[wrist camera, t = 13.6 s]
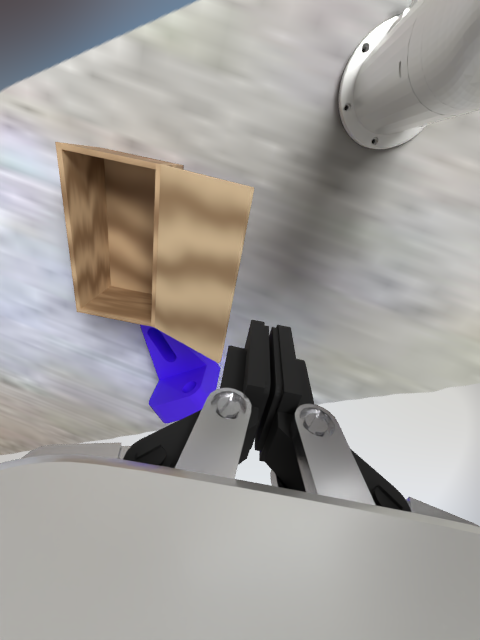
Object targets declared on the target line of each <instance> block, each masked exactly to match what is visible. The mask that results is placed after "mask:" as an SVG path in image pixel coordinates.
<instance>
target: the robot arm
mask: <svg viewBox="0 0 480 640" xmlns="http://www.w3.org/2000/svg"><path fill="white" fill-rule="evenodd" d="M362 48H364V49H365V52H364V53H363V52H362ZM345 106H347V110H344V107H345ZM477 110H480V0H412V3H411V6H410V8H408V9H405V11H404V12H403V13H402V14H401V15H399V16H395V17H393V18H390V19H388V20H386V21H384V22H383V23H381V24H380V25H378V26H377V27H376V28H374V29H373V30H372V31H371V32H370V33H369V34H368V35H367V36H366V37H365V38H364V39H363V40H362V41H361V43H360V44H359V45H358V47H357V48H356V49H355V51H354V53H353V54H352V56H351V57H350V59H349V61H348V63H347V66H346V68H345V70H344V73H343V76H342V80H341V83H340V89H339V112H340V117H341V121H342V123H343V126H344V128H345V130H346V131H347V133H348V134H349V136H350V137H351V138H352V139H353V140H354V141H355V142H357V143H358V144H360V145H362V146H364V147H367V148H371V149H388V148H392V147H395V146H399V145H401V144H403V143H405V142H407V141H409V140H410V139H412V138H413V137H415V136H416V135H417V134H419V133H420V132H421V131H422V130H423V129H424V128H425V127H426V126H427V125H428V124H431V123H434V122H438V121H442V120H446V119H449V118H453V117H457V116H460V115H464V114H468V113H471V112H474V111H477ZM372 139H374V143H373V144H372V143H371V141H372ZM254 439H255V450H257V451H260V461H264V462H266V463H267V465H268V466H269V467H270V468H271V469H272V470H271V483H272V486H269V485H264V484H259V483H253V482H247V481H243V480H237V479H234V478H235V474H236V470H237V466H238V464H240V463H241V462H242V461H244V460H245V459H247V456H248V453H249V450H250V449H251V447H252V445H253V442H254ZM0 640H480V527H479V526H478V525H476V524H474V523H472V522H469V521H467V520H465V519H462V518H460V517H457V516H455V515H452V514H450V513H448V512H445V511H443V510H440V509H437V508H435V507H433V506H430V505H428V504H426V503H423V502H421V501H418V500H416V499H413V498H411V497H409V498H408V499H407V500H406V499H405V498H404V497H403V495H401V493H400V492H399V491H398V490H397V489H396V488H395V487H394V486H392V485H391V484H390V483H389V482H388V481H387V480H386V479H384V478H383V477H382V476H381V475H380V474H379V473H377V472H376V471H375V470H374V469H373V468H372V467H371V466H369V465H368V464H367V463H366V462H365V461H364V460H363V459H361V458H360V457H359V456H358V455H357V454H356V453H354V452H353V451H352V450H351V449H350V448H349V446H348V443H347V441H346V439H345V437H344V435H343V432H342V430H341V428H340V426H339V424H338V422H337V420H336V419H335V417H334V416H333V415H332V414H331V413H330V412H329V411H327V410H326V409H324V408H322V407H320V406H318V405H314V401H313V396H312V391H311V387H310V382H309V378H308V373H307V368H306V364H305V361H304V360H299V359H296V355H295V350H294V344H293V338H292V332H291V328H290V327H286V326H281V325H277V327H276V328H274V327H272V329H271V332H270V335H269V326H264V322H261V321H256V320H251V324H250V328H249V332H248V336H247V340H246V345H245V349H244V348H239V347H234V346H229V347H228V352H227V357H226V362H225V367H224V372H223V377H222V382H221V387H220V389H217V390H215V391H213V392H212V393H210V395H209V396H208V397H207V400H206V402H205V404H204V406H203V408H202V409H201V410H199V411H197V412H195V413H193V414H191V415H189V416H187V417H185V418H183V419H181V420H179V421H177V422H175V423H173V424H171V425H169V426H167V427H165V428H163V429H161V430H159V431H157V432H155V433H153V434H151V435H149V436H147V437H145V438H142V439H141V440H139V441H137V442H136V443H134V444H133V445H132V446H121V443H94V444H57V445H47V446H41V447H39V448H37V449H35V450H32V451H30V452H29V453H28V454H26V455H25V456H24V457H22V458H21V459H17V460H11V461H8V462H3V463H0Z"/></svg>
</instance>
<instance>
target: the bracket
mask: <svg viewBox="0 0 480 640" xmlns="http://www.w3.org/2000/svg"><path fill="white" fill-rule="evenodd" d="M140 326H141V329H142V332H143V335H144V338H145V341H146V344H147V346H148V349H149V352H150V355H151V358H152V361H153V364H154V367H155V369H156V372H157V375H158V378H159V382H158V384H157V386H156V388H155V390H154V392H153V394H152V396H151V398H150V400H149V405H150V406H151V408H152V409H153V410H154V411H155V413H156V414H157V415H158V416H159V418H160V419H161V420H162V421H163V422H164V423H170V422H174V421H178V420H181V419H183V418H185V417H187V416H189V415H191V414H193V413H195V412H197V411H199V410H201V409H202V408H203V406H204V404H205V402H206V400H207V397H208V396H209V395H210V393H212V392H213V391H215V390H216V387H217V382H218V377H219V373H220V367H219V365H218V364H217V362H215V361H213V360H211V359H210V358H208V357H206V356H204V355H203V354H201V353H199V352H197V351H195V350H194V349H192V348H190V347H188V346H187V345H185V344H183V343H181V342H179V341H178V340H176V339H174V338H172V337H170V336H169V335H167V334H165V333H163V332H162V331H160V330H158V329H156V328H155V327H151V326H146V325H141V324H140Z"/></svg>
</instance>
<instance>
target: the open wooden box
mask: <svg viewBox="0 0 480 640" xmlns="http://www.w3.org/2000/svg"><path fill="white" fill-rule="evenodd" d="M56 150H57V158H58V166H59V174H60V182H61V190H62V198H63V206H64V214H65V221H66V229H67V237H68V245H69V253H70V261H71V269H72V277H73V285H74V293H75V301H76V309H77V312H81V313H86V314H91V315H96V316H101V317H106V318H111V319H116V320H121V321H126V322H131V323H136V324H141V325H146V326H151V327H155V306H156V279H157V252H158V225H159V197H160V170H161V165H166V166H170V167H174V168H178V169H182V170H183V166H184V165H179V164H174V163H170V162H165V161H161V160H156V159H151V158H147V157H142V156H137V155H133V154H128V153H123V152H119V151H114V150H109V149H105V148H99V147H91V146H83V145H75V144H68V143H60V142H56Z"/></svg>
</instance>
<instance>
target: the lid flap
mask: <svg viewBox="0 0 480 640" xmlns="http://www.w3.org/2000/svg"><path fill="white" fill-rule="evenodd" d="M253 192H254V187H250V186H246V185H242V184H238V183H234V182H230V181H226V180H222V179H218V178H214V177H210V176H206V175H202V174H198V173H194V172H190V171H186V170H182V169H178V168H174V167H170V166H166V165H161V170H160V197H159V225H158V252H157V279H156V306H155V328H156V329H158V330H160V331H162V332H163V333H165V334H167V335H169V336H170V337H172V338H174V339H176V340H178V341H179V342H181V343H183V344H185V345H187V346H188V347H190V348H192V349H194V350H195V351H197V352H199V353H201V354H203V355H204V356H206V357H208V358H210V359H211V360H213V361H215V362H217V363H219V362H221V358H222V353H223V348H224V343H225V337H226V332H227V327H228V322H229V317H230V312H231V306H232V301H233V296H234V291H235V286H236V280H237V275H238V270H239V265H240V260H241V255H242V249H243V244H244V239H245V234H246V229H247V223H248V218H249V213H250V208H251V203H252V197H253Z"/></svg>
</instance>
